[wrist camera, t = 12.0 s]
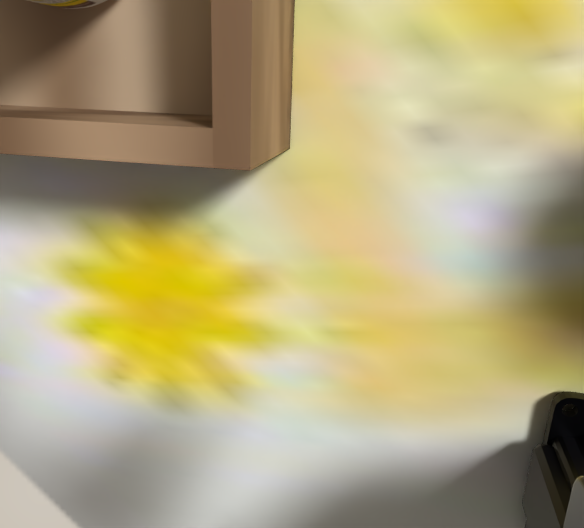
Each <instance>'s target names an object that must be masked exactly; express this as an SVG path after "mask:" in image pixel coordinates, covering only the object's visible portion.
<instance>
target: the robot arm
mask: <svg viewBox="0 0 584 528" xmlns="http://www.w3.org/2000/svg"><path fill="white" fill-rule="evenodd" d="M567 404H573V405H575V406H574V407H573V408H572V409H571V410H566V411H565V410H563V409H562V408H563V406H565V405H567ZM522 504H523V508H524V512H525V515H526V519H527V520H526V525H525V528H584V394H583V393H576V392H562V393H559V394H557V395H556V396H555V397H554V398H553V400H552V403H551V408H550V412H549V417H548V422H547V426H546V431H545V436H544V440H543V444H539V445H537V446H536V447H535V448H534V449H533V452H532V457H531V462H530V466H529V471H528V476H527V481H526V486H525V491H524V495H523V500H522Z"/></svg>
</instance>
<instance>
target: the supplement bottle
mask: <svg viewBox="0 0 584 528" xmlns="http://www.w3.org/2000/svg"><path fill="white" fill-rule="evenodd" d="M28 1H32V2H36V3H40V4H45V5H50V6H55V7H60V8H69V9H78V8H87V7H92V6H95V5H98V4H100V3H103V2H105V1H107V0H28Z"/></svg>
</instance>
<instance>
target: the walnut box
mask: <svg viewBox="0 0 584 528" xmlns="http://www.w3.org/2000/svg"><path fill="white" fill-rule="evenodd" d="M294 7H295V0H107V1H105V2H103V3H100V4H98V5H95V6H92V7H87V8H78V9H69V8H60V7H55V6H50V5H45V4H40V3H36V2H32V1H28V0H0V154H14V155H29V156H44V157H58V158H73V159H88V160H103V161H118V162H132V163H147V164H162V165H177V166H192V167H206V168H221V169H236V170H252V169H254V168H256V167H257V166H259V165H261V164H263V163H265V162H266V161H268V160H270V159H272V158H274V157H275V156H277V155H279V154H281V153H282V152H284V151H286V150H288V149H290V130H291V99H292V68H293V37H294Z"/></svg>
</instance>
